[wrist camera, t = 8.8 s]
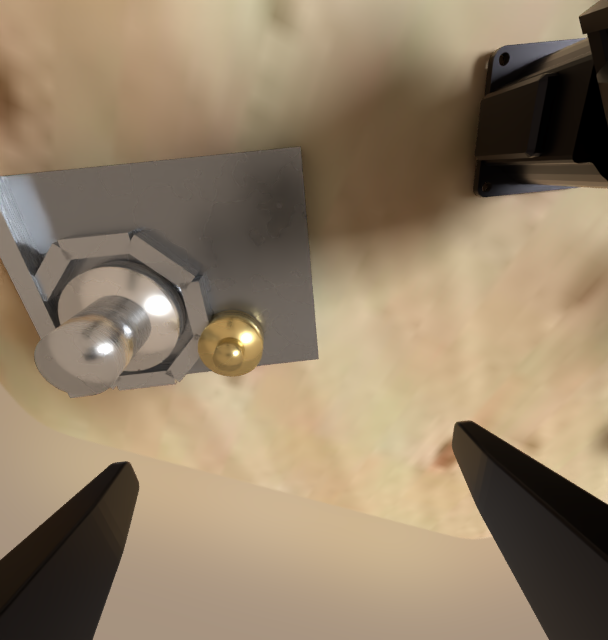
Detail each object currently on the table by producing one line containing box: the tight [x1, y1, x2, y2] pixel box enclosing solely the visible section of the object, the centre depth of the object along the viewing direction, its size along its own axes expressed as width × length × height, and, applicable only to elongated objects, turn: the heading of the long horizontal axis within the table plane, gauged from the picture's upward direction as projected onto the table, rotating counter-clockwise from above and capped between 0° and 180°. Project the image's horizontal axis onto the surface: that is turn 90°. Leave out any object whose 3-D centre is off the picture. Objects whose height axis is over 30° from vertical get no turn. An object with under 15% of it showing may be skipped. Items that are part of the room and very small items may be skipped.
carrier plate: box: [0, 147, 319, 398], centre depth 17 cm, size 15×12×4 cm
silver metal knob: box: [34, 261, 185, 396], centre depth 16 cm, size 6×6×6 cm
